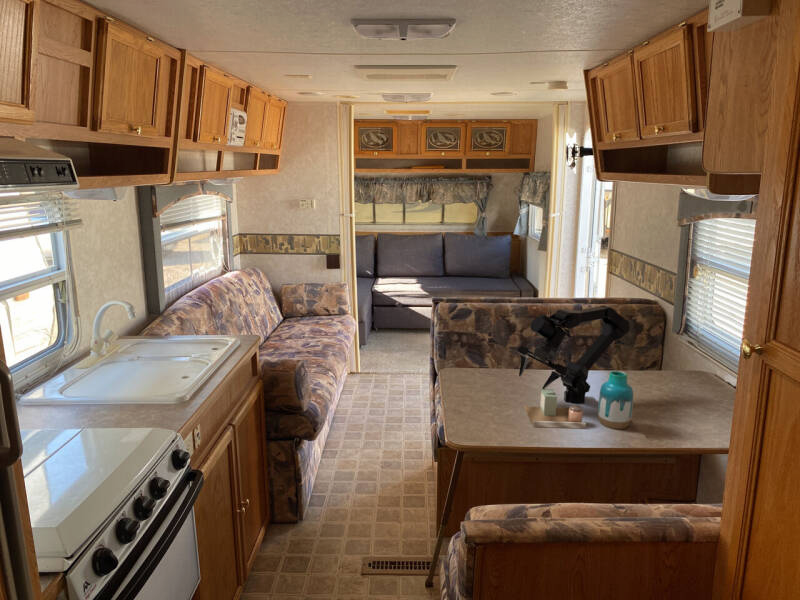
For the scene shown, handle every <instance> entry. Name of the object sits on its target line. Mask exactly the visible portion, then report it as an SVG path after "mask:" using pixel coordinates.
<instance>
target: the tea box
mask: <svg viewBox="0 0 800 600" xmlns="http://www.w3.org/2000/svg"><path fill="white" fill-rule="evenodd" d="M557 403H558V395H557V394H556V392H555V391H554V388H545V389H542V388H541V389H540V402H539V407H540V409H541V411H542V413H543V415H544V416H556V407H557Z"/></svg>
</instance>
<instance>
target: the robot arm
mask: <svg viewBox="0 0 800 600" xmlns="http://www.w3.org/2000/svg"><path fill="white" fill-rule="evenodd" d="M597 320H601V322H602V323H603V325H602V329H601V333H600V334H599V336H598V337H597V338H596V339H595V340H594V342H593V343H592V344H590V346H589V347H588V348H587V350H586V351H585V352H584V353H583V354H582V355H581V356H580V358H579V359H578V360H577V361H575V362H572V361H568V362H567V364H566V366H564V365H562V364H560V363H554V362H553V361H554V360H555V359H556V357H557V354H558V352H559V349H560V348H561V347H562V344H563V343H564V340H565V338H568V339H571V337H572V336H571V332H570V330H571V329H574V328H576V327H579V325H580V324H583V323H587V322H593V321H597ZM529 327H530V330H531V331H532V332H533V333H535V334H537V335H538V336H540V337H542V338H543V339H544V340H542V342H541V344H540V345H538V346H537V345H536V346H535V348H534V350H531V349H530V348H529V347H526V346H524V345H522V344H520V345H518V347H517V349H516V350H515V351H516V353H518V356H519V357H520V366H519V373H518V376H519V377H520V378H521V377H522V375H523V374H524V372H525V370H526V367H527V366H528V364H529V362H530V359H529V358H531V359H533V360H535V361H537V362H538V363H541V364H542V365H545V366H546V367H549V368H551V369H552V371H551V372H550V376H549V377H548V378H547V380H546V381H545V383H544V384H543V387H542V388H541V389H547V388H548V386H550V385H551V384H552V383H554V381H556V380H557V379H559V378H560V380H561V382H562V385H563V387H565V391H564V392H563V401H564V402H565V403H567V404H568V403H569V404H572V405H581V404H585V402H586V401H585V400H586V394H587V393H589V392H590V390H591V385H590V383H588V382H587V380H588V377H589V372H590V369H591V368H592V367H593V366H594V365H595V364H596V362H597V361H599V359H600V358H601V356H602V355H603V354H604V353H605V352H606V351H607V350H608V348H609V347H610V346H611V345H612V343H613V342H615V341H618V340H620V339H622V338H623V337H625V336H626V334H628V332H629V331H630V330H631V328H630V327H631V326H630V322H629V320H627V319H625V318H624V317H623V316H622V315H620V314H619V313H618V312H617V311H616V310H615V309H614V308H613V307H611V306H607V305H600V306H596V307H595V306H594V307H591V308H590V307H589V308H583V309H578V310H576V309H575V310H574V309H566V308H565V309H563V308H561V309H557V310H556V312H555V313H553V314H552V315H550V316H547V315H545V314H543V313H540V315H539V316H537V317H535V318H534V319H533V320H531V323H530V326H529ZM553 370H554V371H553Z"/></svg>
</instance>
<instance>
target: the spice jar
mask: <svg viewBox="0 0 800 600" xmlns="http://www.w3.org/2000/svg"><path fill="white" fill-rule="evenodd" d="M568 408H569V417H568V422H583V414H584V410H583V407H582V406H580V405H579V404H572V405H570V407H568Z"/></svg>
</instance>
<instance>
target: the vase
mask: <svg viewBox="0 0 800 600" xmlns="http://www.w3.org/2000/svg"><path fill="white" fill-rule="evenodd" d="M597 404H598V405H597V409H598V410H597V417H598V421H599V423H600V424H601V425H602V426H603V427H606V428H609V429H612V430H613V429H614V430H624V429H626V428H627V427H628V426H629V424H630V423H631V420H632V419H631V418H632V414H633V408H634V407H633V406H634V390H633V388H632V386H631V385H630V384H628V374H627V373H626V372H624V371H620V370H612V371H610V372H609V377H608V380H607V381H605V382H604V383H602V385H601V386H600V390H599V395H598V403H597Z"/></svg>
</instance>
